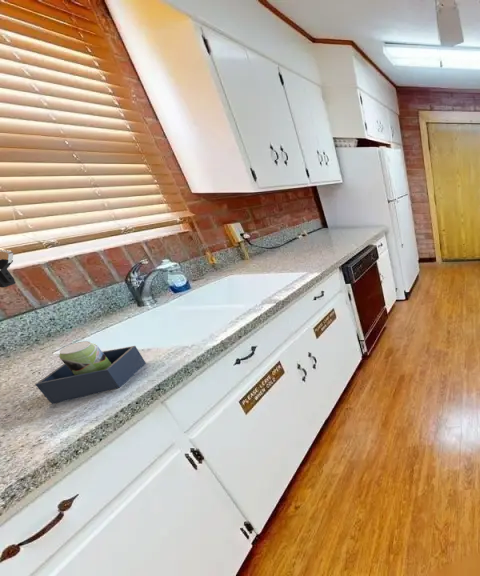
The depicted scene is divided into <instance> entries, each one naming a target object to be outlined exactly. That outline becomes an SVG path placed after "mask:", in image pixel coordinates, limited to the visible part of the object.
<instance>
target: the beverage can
mask: <svg viewBox="0 0 480 576" xmlns="http://www.w3.org/2000/svg"><path fill="white" fill-rule="evenodd" d="M58 357H59V359H60V360H61V361H62V363H63V364H64V363H65V365H66V366H67V367H68V368H69V369H70V370H71V371H72V372H73V374H74V375H80V374H85V373H90V372H95V371H100V370H106V369H107V368H108V367H109V366H110V365H111V362H110V361H109V360H108V358H107V357H106V356H105V355H104V353H103V350H102V349H101V348H100V347H99V346H98V344H96V343H94V342H91V341H89V340H88V341H87V340H83V341H78V342H74V343H71V344H68V345H66V346H64V347H62V348H61V349H60V350H59V355H58Z"/></svg>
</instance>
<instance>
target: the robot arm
mask: <svg viewBox="0 0 480 576" xmlns="http://www.w3.org/2000/svg"><path fill="white" fill-rule="evenodd" d="M13 257H14V252H13V251H11V250H9V249H3V248H0V288H2V289H3V288H7V287H11V286H13V285H16V283H17V282H16V280H15V278H14V276H13V275H12V274H11V272H10V271H9V270H8V269H10V268H11V266H10V265H12V264H13V262H14V258H13Z"/></svg>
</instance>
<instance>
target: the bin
mask: <svg viewBox="0 0 480 576" xmlns="http://www.w3.org/2000/svg"><path fill="white" fill-rule="evenodd" d="M102 352H103V353H104V355H105V356H106V357H107V358H108V360H109V361H110V362H111V365H110V366H109V367H108V368H107V369H106V370H100V371H95V372H90V373H85V374H80V375H74V374H73V372H72V371H71V370H70V369H69V368H68V367H67V366H66V365H65V363H64V362H63V364H61V365H60V366H59V367H57V368H56V369H55V370H53V371H52V372H50V373H48V375H46V376H44V377H43V378H42V379H40V380H39V381H38V382H36V383H35V384H34V385H35V386H36V387H37V389H38V390H39V391H40V392H41V393H42V395H43V396H44V397H45V398H46V399H47V401H48V402H49V403H50V404H51V405H55V404H59V403H63V402H67V401H71V400H75V399H80V398H83V397H87V396H92V395H96V394H100V393H104V392H109V391H112V390H116V389H120V388H122V387H123V386H124V385H125V384H126V383H127V382H128V381H129V380H130V379H131V378H132V377H133V376H135V374H137V372H139V370H141V369H142V368H144V366H145V365H146V364H147V362H146V360H145V359H144V358H143V356H142V354H141V353H140V351H139V350H138V348H137V346H136V345H132V346H126V347H121V348H115V349H110V350H105V351H104V350H102Z"/></svg>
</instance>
